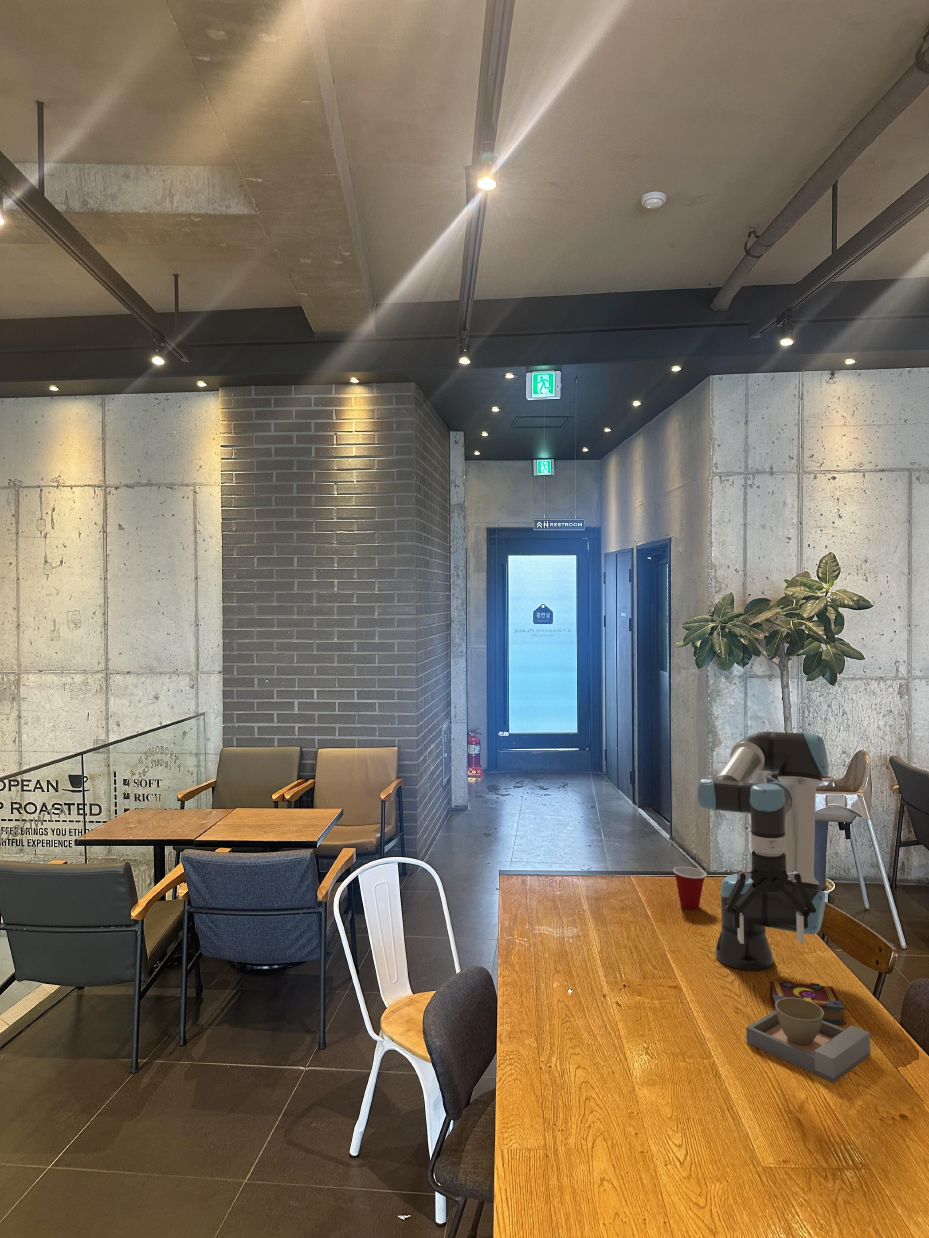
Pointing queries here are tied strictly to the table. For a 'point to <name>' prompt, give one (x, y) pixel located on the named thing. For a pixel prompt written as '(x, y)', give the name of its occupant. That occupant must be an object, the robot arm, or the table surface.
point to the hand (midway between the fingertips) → (770, 941)
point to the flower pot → (799, 1019)
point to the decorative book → (810, 998)
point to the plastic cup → (689, 886)
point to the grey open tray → (813, 1047)
